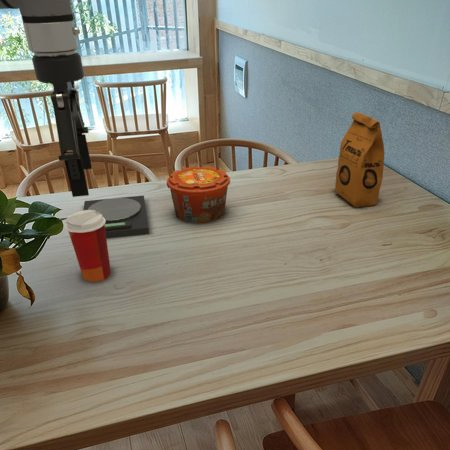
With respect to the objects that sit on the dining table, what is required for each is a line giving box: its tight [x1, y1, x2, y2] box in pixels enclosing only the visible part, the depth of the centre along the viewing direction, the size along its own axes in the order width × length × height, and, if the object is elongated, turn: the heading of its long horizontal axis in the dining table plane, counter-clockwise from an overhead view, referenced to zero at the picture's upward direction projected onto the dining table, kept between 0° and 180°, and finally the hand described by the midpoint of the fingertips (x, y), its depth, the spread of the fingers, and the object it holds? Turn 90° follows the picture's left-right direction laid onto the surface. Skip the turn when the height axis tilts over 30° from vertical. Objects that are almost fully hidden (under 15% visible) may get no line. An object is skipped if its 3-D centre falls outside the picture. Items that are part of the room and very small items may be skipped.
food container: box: [166, 165, 231, 224], centre depth 115 cm, size 16×16×11 cm
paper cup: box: [64, 209, 111, 283], centre depth 91 cm, size 8×8×14 cm
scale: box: [83, 195, 150, 239], centre depth 115 cm, size 16×20×3 cm
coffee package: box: [334, 111, 385, 208], centre depth 119 cm, size 10×12×22 cm
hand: (83, 181), depth 84 cm, fingers open, 13 cm apart
